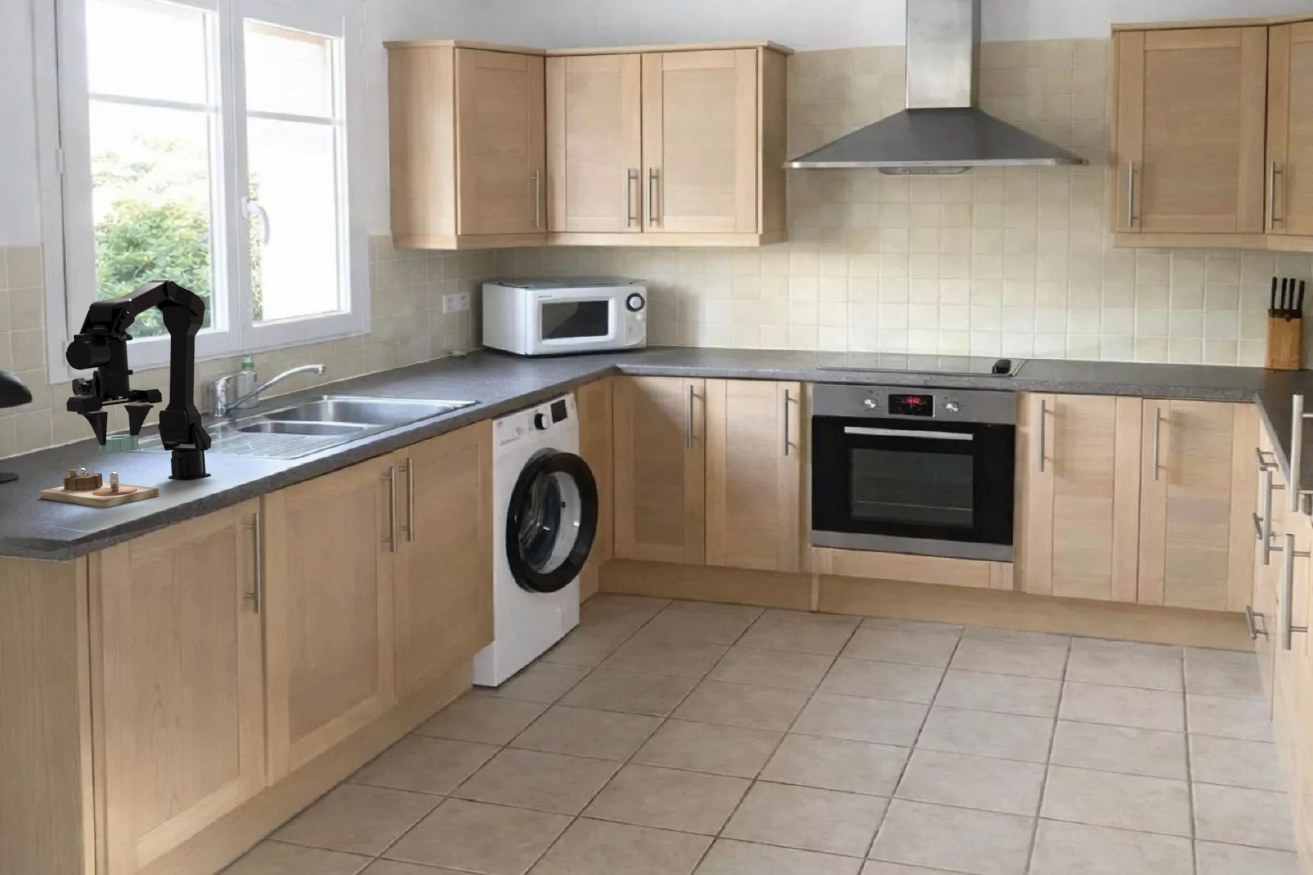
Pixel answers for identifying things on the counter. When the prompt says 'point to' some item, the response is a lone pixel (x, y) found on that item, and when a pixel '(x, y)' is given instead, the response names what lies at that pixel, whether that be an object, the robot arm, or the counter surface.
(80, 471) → the steel pegs
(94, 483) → the gear
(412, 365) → the counter surface
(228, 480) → the counter surface
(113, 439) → the loose gear
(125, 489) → the gear board
